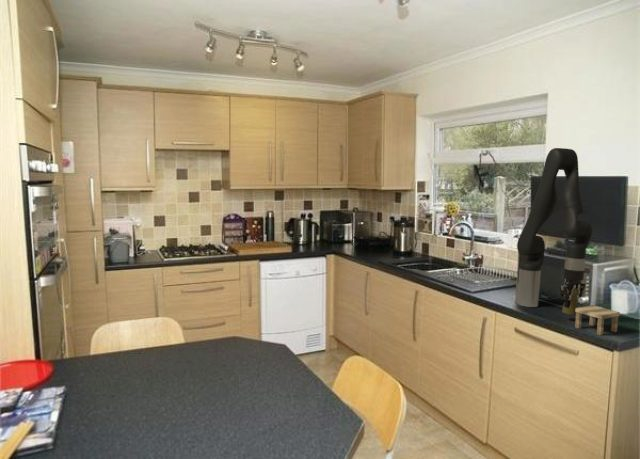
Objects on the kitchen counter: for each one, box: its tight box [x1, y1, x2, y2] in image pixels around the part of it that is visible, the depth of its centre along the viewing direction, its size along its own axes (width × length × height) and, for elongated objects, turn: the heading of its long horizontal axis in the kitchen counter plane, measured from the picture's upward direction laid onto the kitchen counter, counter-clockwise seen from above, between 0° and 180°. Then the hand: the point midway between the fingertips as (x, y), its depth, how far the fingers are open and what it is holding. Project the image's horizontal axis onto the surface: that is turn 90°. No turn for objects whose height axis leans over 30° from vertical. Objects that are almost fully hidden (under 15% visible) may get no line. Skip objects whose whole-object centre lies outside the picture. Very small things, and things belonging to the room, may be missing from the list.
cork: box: [561, 288, 580, 316], centre depth 198 cm, size 6×6×11 cm
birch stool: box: [574, 304, 621, 336], centre depth 186 cm, size 11×11×8 cm
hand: (570, 307), depth 198 cm, fingers closed on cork, 3 cm apart
